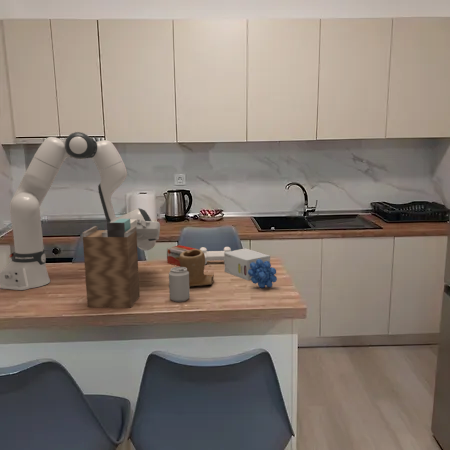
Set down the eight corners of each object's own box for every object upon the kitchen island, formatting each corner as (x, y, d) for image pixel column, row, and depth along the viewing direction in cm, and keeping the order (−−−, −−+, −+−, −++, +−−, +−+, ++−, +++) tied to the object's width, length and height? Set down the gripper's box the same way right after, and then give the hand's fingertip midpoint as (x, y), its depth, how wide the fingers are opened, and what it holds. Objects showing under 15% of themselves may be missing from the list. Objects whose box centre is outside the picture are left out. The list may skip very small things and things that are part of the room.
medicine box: (166, 263, 228) (166, 247, 227) (179, 260, 234) (178, 244, 232) (187, 269, 218) (187, 252, 216) (200, 265, 224) (200, 249, 222)
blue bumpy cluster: (247, 291, 186) (247, 261, 183) (248, 285, 192) (248, 257, 190) (277, 291, 185) (277, 262, 182) (276, 286, 191) (276, 257, 189)
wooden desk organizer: (87, 306, 170) (81, 222, 165) (99, 295, 182) (94, 217, 176) (130, 307, 169) (126, 223, 163) (139, 296, 181) (135, 217, 175)
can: (186, 303, 173) (185, 271, 171) (167, 302, 175) (165, 270, 172) (191, 296, 180) (191, 266, 178) (173, 295, 182) (172, 265, 180)
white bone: (230, 262, 231) (230, 245, 231) (231, 265, 223) (231, 248, 222) (200, 262, 231) (199, 246, 230) (199, 266, 222) (199, 249, 221)
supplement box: (223, 272, 213) (223, 252, 211) (246, 267, 220) (246, 247, 219) (247, 281, 199) (247, 259, 197) (270, 275, 207) (270, 254, 205)
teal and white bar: (111, 236, 166) (110, 223, 165) (128, 225, 186) (127, 214, 185) (122, 236, 166) (121, 223, 165) (137, 225, 185) (137, 214, 185)
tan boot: (178, 290, 187) (177, 254, 184) (177, 281, 199) (176, 247, 196) (216, 289, 189) (215, 252, 186) (213, 280, 200) (213, 246, 198)
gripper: (115, 225, 196) (104, 213, 183) (163, 225, 195) (156, 213, 182) (113, 239, 194) (102, 228, 181) (162, 239, 193) (154, 229, 180)
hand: (129, 221), depth 181 cm, fingers open, 6 cm apart
